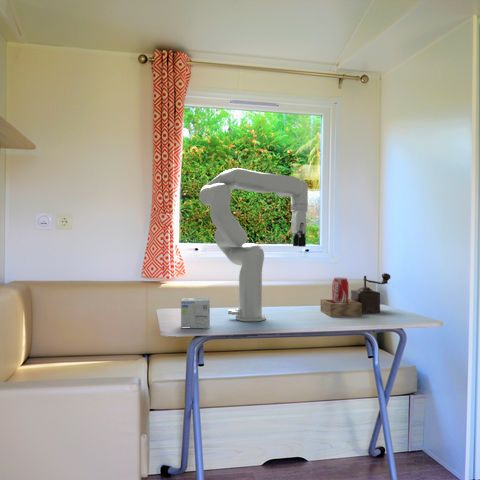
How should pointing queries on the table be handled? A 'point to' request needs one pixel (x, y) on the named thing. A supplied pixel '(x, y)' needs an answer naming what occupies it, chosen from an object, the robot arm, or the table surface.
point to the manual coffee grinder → (369, 296)
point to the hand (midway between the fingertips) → (299, 246)
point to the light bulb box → (195, 312)
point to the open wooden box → (341, 308)
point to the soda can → (340, 290)
